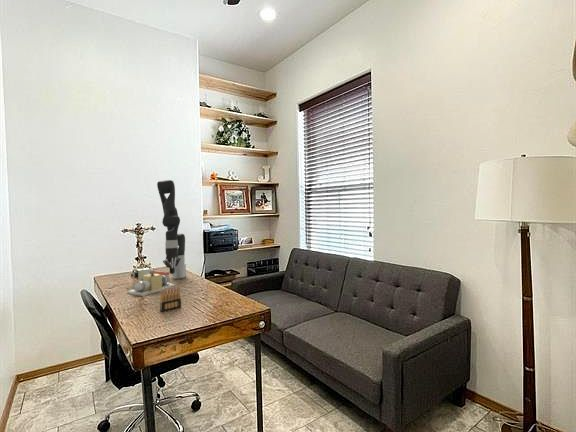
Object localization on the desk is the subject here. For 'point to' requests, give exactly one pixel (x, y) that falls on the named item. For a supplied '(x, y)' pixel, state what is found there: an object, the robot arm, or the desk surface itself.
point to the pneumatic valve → (141, 273)
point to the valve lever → (159, 272)
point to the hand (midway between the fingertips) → (172, 273)
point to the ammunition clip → (170, 299)
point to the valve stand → (151, 284)
